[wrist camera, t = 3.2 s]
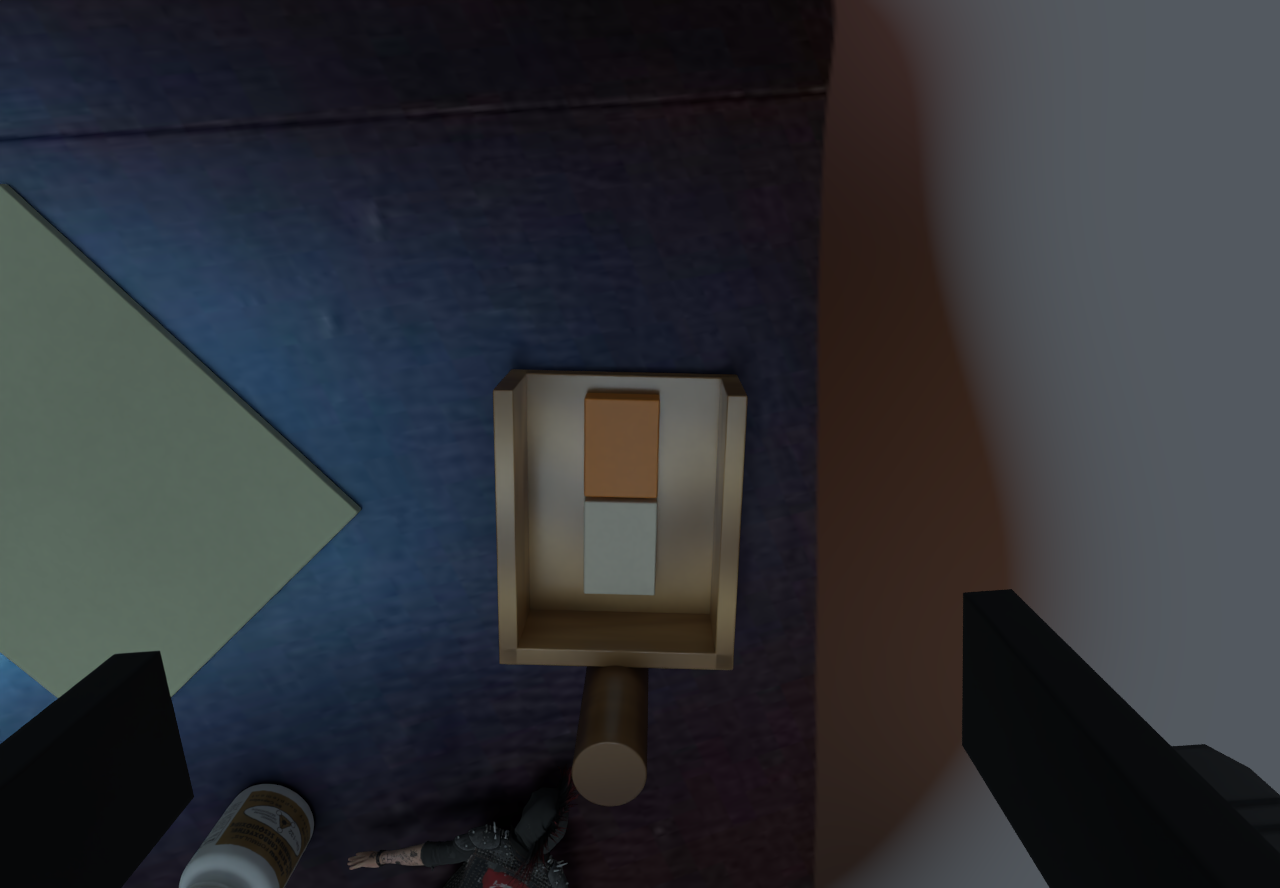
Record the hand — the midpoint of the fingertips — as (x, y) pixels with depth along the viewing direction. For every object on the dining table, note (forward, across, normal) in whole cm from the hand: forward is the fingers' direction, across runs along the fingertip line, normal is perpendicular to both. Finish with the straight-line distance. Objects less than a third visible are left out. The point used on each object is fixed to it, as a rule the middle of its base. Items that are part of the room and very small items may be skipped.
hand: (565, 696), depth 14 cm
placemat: (+26, -26, -2) cm, 36 cm away
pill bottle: (+26, -20, -20) cm, 38 cm away
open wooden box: (+25, 0, -6) cm, 26 cm away
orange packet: (+24, 0, -2) cm, 25 cm away
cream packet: (+25, 0, -6) cm, 25 cm away
